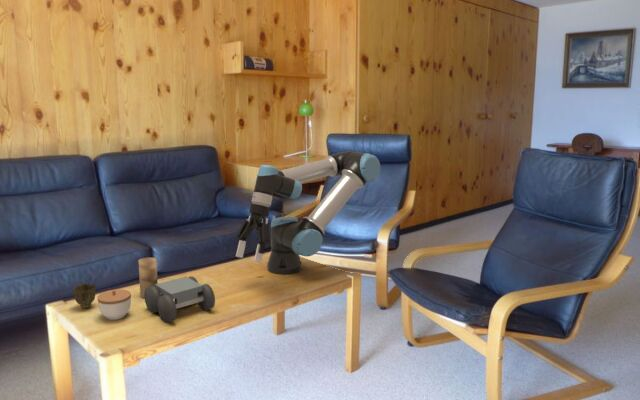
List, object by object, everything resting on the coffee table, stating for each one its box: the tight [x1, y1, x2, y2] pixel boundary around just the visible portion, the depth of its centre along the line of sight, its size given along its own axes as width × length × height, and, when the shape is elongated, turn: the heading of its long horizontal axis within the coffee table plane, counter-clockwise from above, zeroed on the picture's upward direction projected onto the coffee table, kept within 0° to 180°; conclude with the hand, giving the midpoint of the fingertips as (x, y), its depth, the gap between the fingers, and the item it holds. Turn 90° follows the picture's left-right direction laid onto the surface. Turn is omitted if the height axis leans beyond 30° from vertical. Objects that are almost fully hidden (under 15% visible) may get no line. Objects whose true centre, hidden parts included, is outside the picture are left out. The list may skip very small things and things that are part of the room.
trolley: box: [143, 276, 216, 323], centre depth 186 cm, size 17×19×10 cm
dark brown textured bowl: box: [72, 282, 97, 310], centre depth 187 cm, size 8×7×8 cm
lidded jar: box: [96, 288, 132, 321], centre depth 181 cm, size 11×11×9 cm
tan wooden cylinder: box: [137, 257, 158, 299], centre depth 199 cm, size 6×6×14 cm
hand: (248, 259), depth 199 cm, fingers open, 13 cm apart
